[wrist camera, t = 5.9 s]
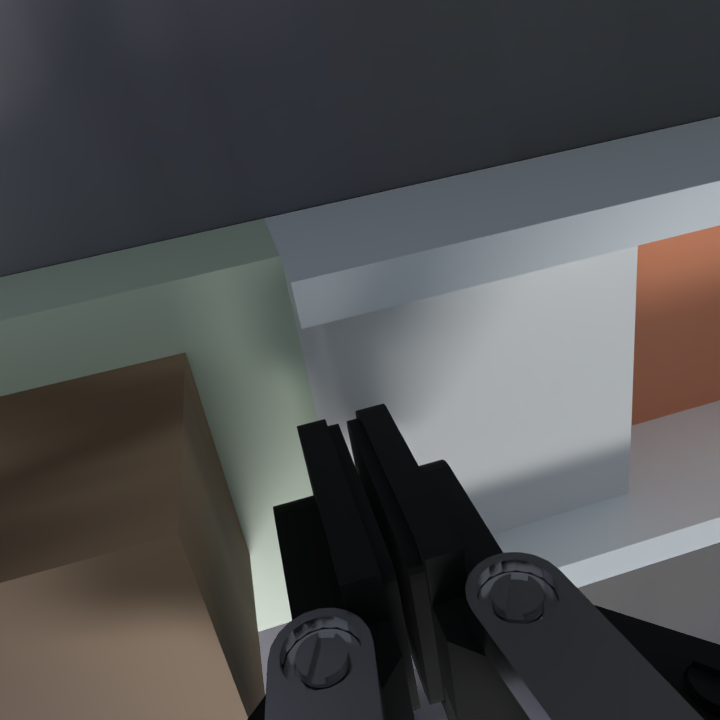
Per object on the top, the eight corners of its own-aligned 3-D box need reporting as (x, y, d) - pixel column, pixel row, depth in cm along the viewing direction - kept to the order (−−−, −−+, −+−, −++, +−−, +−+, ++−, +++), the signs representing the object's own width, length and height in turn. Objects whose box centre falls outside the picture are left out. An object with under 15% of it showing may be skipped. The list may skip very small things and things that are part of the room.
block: (185, 352, 12) (177, 534, 7) (250, 556, 14) (274, 788, 9) (-107, 421, 11) (-314, 670, 6) (11, 623, 13) (-83, 908, 9)
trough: (961, 62, 16) (1208, 64, 12) (888, 359, 20) (1058, 433, 16) (-127, 305, 13) (-271, 416, 9) (42, 604, 17) (-6, 774, 13)
